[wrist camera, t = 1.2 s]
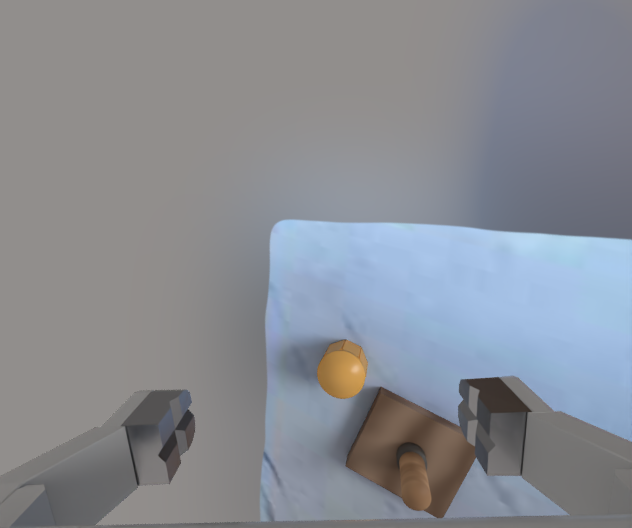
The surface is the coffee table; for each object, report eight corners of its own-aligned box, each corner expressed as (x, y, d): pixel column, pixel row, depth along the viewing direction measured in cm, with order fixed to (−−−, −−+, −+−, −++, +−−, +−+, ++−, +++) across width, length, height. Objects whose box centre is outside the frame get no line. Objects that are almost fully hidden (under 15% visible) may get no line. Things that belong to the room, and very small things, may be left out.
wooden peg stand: (478, 436, 42) (503, 486, 33) (438, 508, 44) (453, 574, 35) (380, 386, 44) (380, 421, 36) (347, 456, 46) (338, 506, 37)
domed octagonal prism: (373, 352, 44) (372, 365, 39) (356, 389, 45) (353, 407, 40) (334, 332, 45) (328, 343, 40) (317, 369, 46) (310, 384, 41)
